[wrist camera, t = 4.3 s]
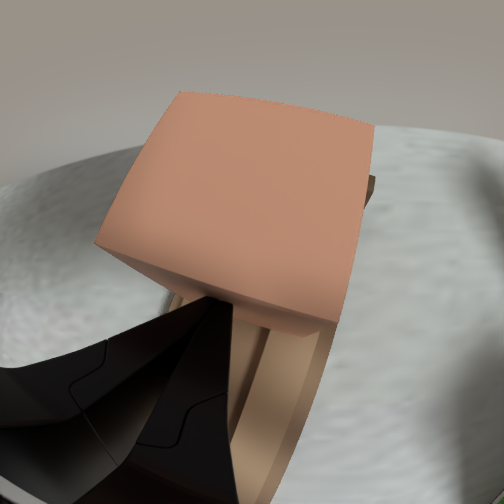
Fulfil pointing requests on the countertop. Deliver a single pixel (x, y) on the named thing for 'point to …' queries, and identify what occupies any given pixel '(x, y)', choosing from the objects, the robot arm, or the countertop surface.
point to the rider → (247, 208)
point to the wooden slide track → (270, 398)
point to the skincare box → (499, 499)
